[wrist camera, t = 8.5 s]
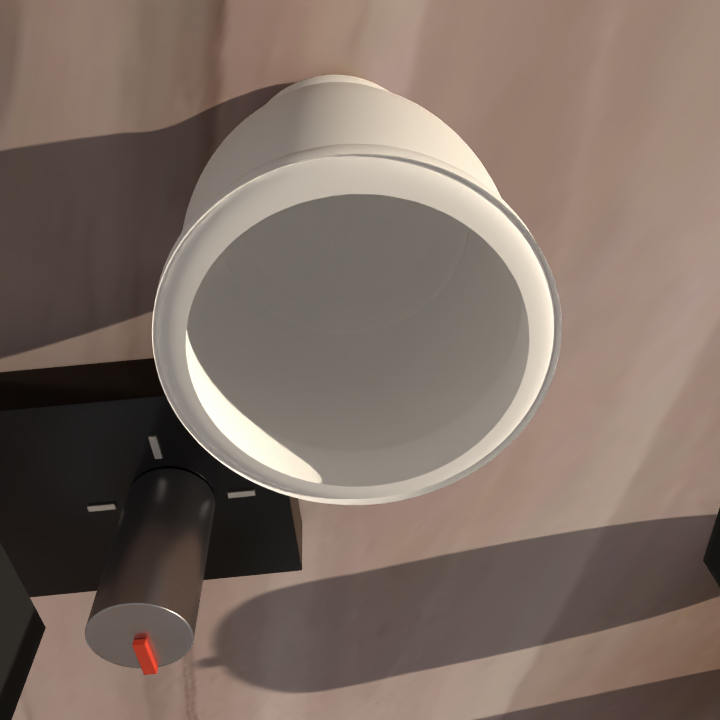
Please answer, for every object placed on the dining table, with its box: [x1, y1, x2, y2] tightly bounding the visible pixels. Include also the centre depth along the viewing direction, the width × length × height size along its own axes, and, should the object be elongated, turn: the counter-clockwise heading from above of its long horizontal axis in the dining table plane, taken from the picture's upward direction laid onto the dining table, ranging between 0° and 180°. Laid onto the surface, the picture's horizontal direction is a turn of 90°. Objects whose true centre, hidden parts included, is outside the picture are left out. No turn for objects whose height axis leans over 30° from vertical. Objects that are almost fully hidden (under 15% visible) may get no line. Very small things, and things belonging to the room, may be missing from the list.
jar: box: [152, 75, 562, 505], centre depth 23 cm, size 11×10×15 cm
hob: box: [0, 358, 302, 597], centre depth 36 cm, size 16×13×4 cm
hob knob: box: [85, 468, 215, 675], centre depth 31 cm, size 4×4×8 cm
